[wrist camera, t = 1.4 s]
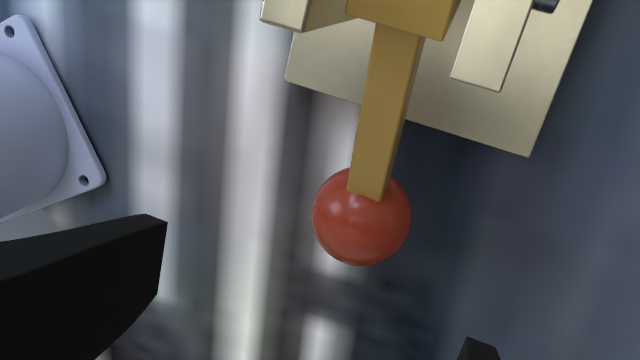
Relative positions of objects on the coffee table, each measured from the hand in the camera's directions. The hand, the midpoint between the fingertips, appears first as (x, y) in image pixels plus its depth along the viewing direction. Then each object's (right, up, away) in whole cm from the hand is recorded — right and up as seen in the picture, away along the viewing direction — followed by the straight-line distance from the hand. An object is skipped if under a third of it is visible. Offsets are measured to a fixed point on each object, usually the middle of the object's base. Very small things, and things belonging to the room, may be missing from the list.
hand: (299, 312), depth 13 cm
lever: (+3, +6, +3) cm, 7 cm away
